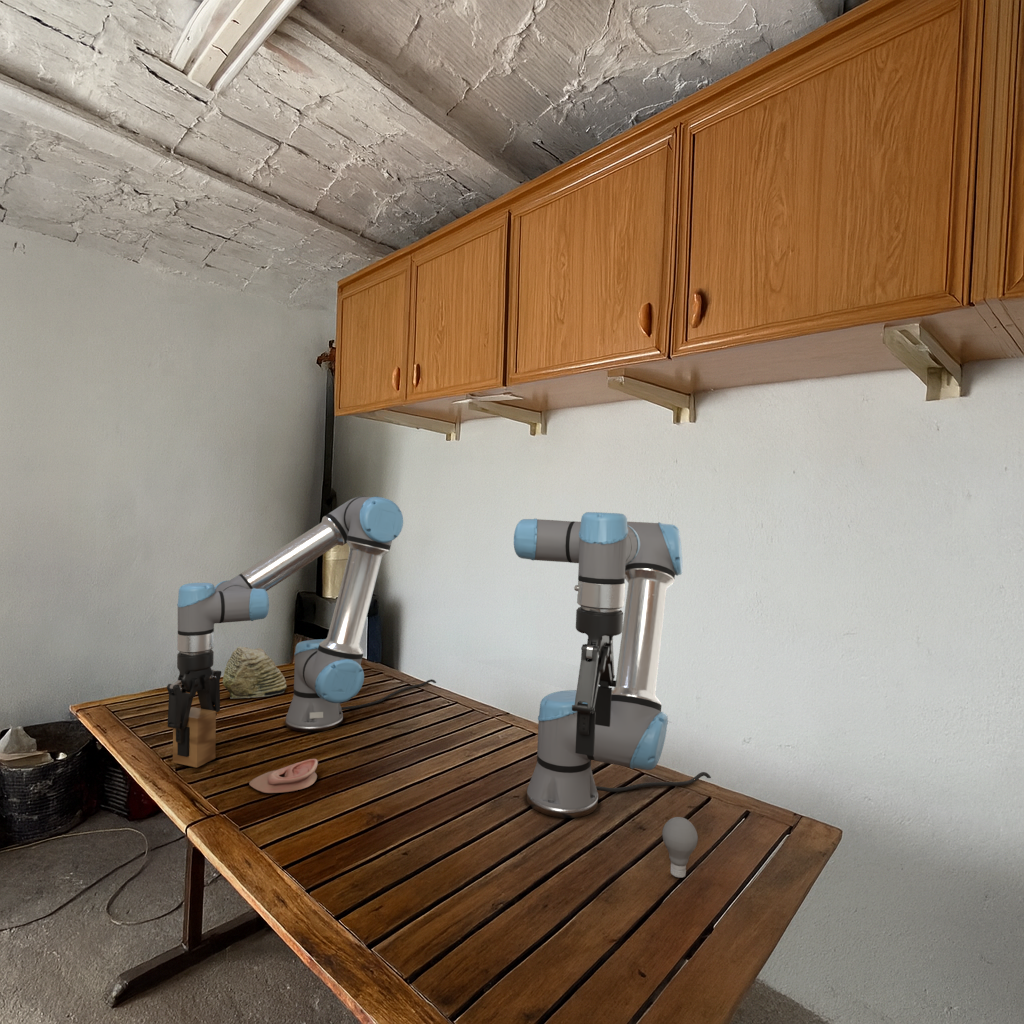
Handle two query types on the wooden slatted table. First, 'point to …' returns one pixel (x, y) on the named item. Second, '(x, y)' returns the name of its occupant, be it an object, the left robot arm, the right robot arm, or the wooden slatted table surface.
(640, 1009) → the wooden slatted table surface
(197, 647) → the left robot arm
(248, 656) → the fossil
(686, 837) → the light bulb
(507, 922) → the wooden slatted table surface
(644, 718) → the right robot arm
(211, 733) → the block
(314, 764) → the anatomical model
